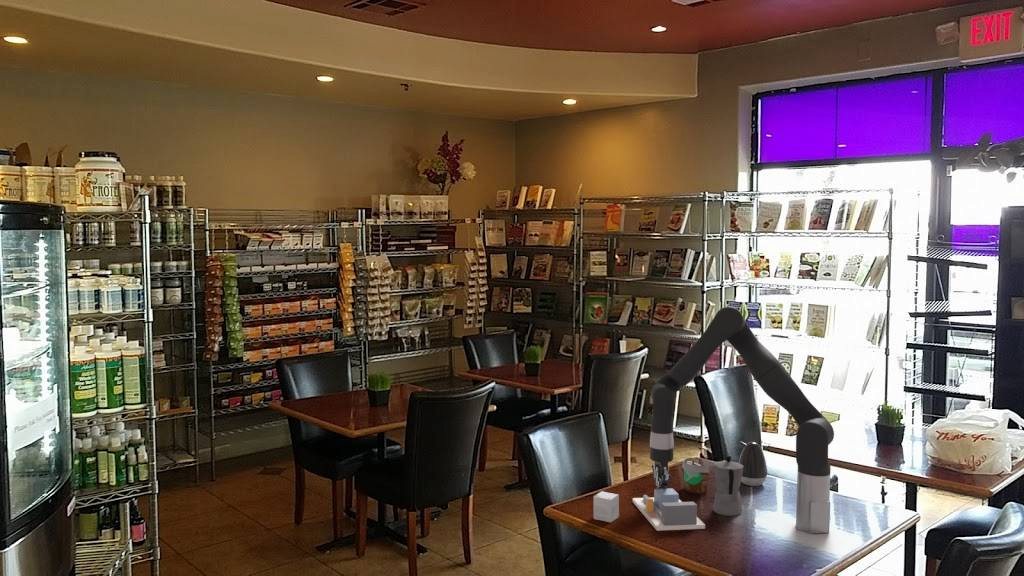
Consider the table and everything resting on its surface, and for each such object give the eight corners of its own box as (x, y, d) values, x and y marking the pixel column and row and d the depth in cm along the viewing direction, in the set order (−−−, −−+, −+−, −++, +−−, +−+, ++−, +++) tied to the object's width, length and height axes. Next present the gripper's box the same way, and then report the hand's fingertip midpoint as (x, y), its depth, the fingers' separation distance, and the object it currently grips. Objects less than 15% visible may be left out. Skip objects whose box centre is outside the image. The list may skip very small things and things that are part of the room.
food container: (674, 486, 279) (675, 458, 278) (690, 484, 281) (690, 456, 280) (692, 497, 267) (693, 468, 267) (708, 495, 269) (709, 466, 269)
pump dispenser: (747, 477, 289) (748, 436, 288) (772, 484, 281) (773, 442, 280) (730, 483, 283) (731, 441, 282) (756, 490, 275) (757, 447, 274)
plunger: (683, 517, 244) (684, 499, 243) (651, 518, 243) (651, 500, 242) (672, 505, 255) (672, 488, 254) (641, 506, 253) (641, 489, 253)
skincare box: (619, 517, 248) (619, 494, 247) (610, 523, 243) (610, 499, 242) (601, 513, 251) (602, 490, 251) (592, 519, 246) (593, 495, 246)
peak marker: (653, 512, 248) (653, 499, 248) (646, 512, 248) (647, 499, 247) (652, 511, 249) (652, 498, 249) (645, 511, 249) (646, 498, 248)
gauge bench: (705, 528, 238) (705, 505, 238) (656, 530, 237) (657, 507, 236) (676, 500, 264) (676, 478, 264) (632, 501, 262) (633, 480, 262)
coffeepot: (710, 503, 261) (711, 449, 260) (739, 505, 260) (741, 451, 259) (715, 519, 246) (716, 462, 245) (746, 521, 245) (748, 464, 243)
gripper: (679, 450, 250) (678, 504, 251) (666, 439, 263) (665, 490, 264) (656, 451, 249) (655, 505, 250) (644, 440, 262) (643, 491, 263)
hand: (660, 497), depth 257 cm, fingers closed
